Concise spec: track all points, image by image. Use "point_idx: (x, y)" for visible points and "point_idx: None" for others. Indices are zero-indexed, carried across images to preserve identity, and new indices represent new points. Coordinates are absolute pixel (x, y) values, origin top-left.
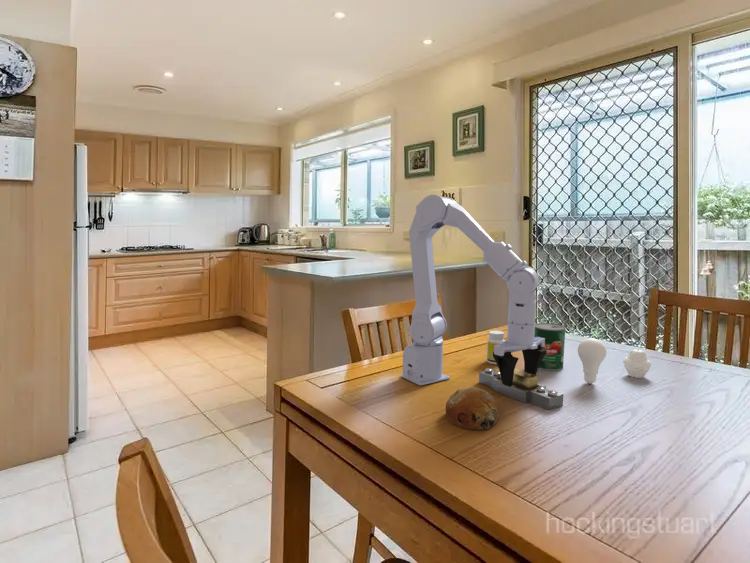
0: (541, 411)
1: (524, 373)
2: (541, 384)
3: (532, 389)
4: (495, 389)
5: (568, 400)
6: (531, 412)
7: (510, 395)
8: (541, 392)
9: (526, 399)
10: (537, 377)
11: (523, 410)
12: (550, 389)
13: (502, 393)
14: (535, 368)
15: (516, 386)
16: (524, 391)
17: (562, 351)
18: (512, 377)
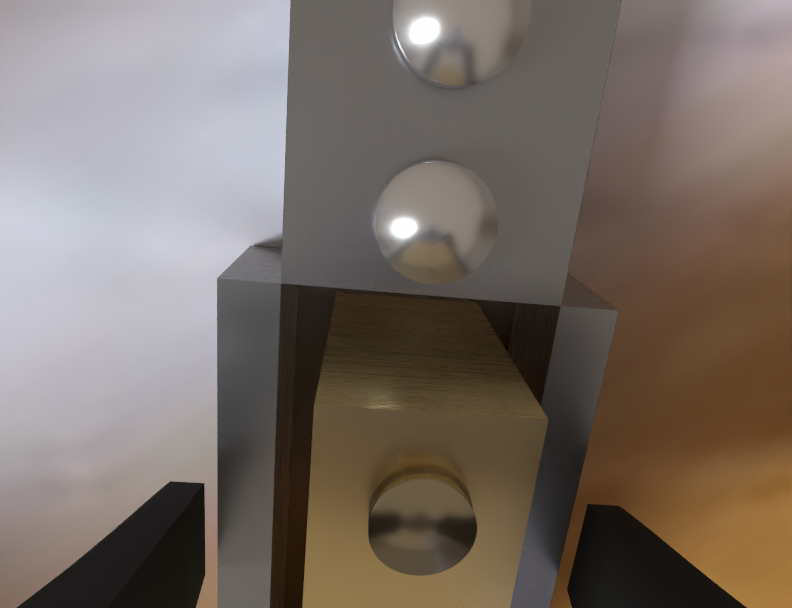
0: (650, 42)
1: (387, 580)
2: (221, 345)
3: (428, 334)
4: None
5: (108, 18)
6: (747, 97)
7: None
8: (493, 177)
9: (572, 280)
10: (326, 395)
11: (750, 180)
12: (285, 164)
13: None
14: (122, 591)
15: None
16: (610, 334)
17: None
18: (670, 576)
